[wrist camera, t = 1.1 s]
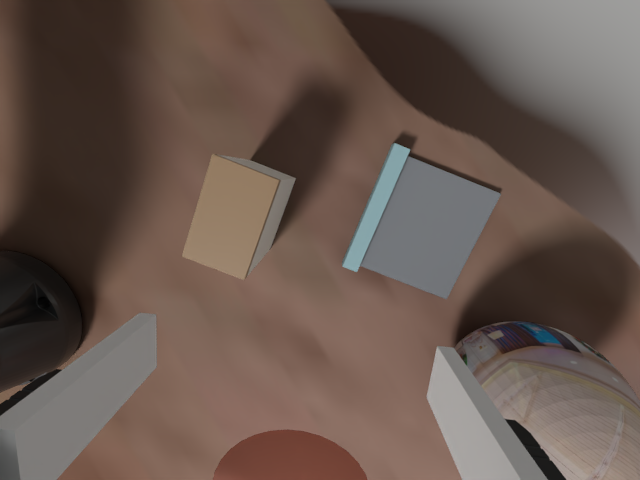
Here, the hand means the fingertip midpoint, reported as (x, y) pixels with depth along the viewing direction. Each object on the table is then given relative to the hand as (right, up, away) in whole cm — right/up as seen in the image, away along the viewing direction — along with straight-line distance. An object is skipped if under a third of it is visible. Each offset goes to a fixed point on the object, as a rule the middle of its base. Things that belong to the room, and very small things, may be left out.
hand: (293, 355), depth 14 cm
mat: (+12, +6, +18) cm, 22 cm away
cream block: (-5, +9, +18) cm, 21 cm away
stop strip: (+7, +9, +17) cm, 21 cm away
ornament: (+20, -8, +21) cm, 30 cm away
